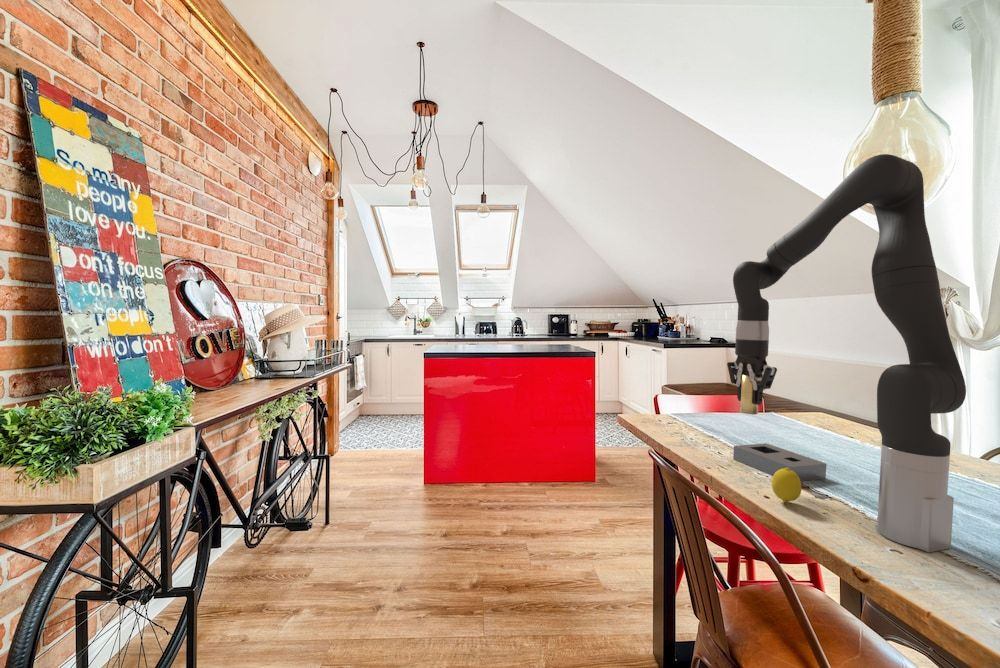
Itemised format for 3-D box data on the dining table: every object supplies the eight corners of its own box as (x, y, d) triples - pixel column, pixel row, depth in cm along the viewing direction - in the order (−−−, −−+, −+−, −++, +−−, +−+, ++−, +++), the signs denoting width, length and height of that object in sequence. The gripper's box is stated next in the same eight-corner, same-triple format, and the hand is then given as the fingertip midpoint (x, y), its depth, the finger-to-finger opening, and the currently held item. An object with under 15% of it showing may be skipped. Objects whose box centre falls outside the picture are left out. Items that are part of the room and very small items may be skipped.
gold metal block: (761, 414, 111) (763, 376, 111) (749, 414, 110) (750, 376, 109) (748, 410, 115) (750, 374, 114) (736, 411, 114) (738, 374, 113)
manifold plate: (733, 459, 125) (733, 445, 124) (765, 456, 128) (766, 443, 128) (789, 482, 107) (790, 467, 107) (825, 478, 111) (826, 463, 110)
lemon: (791, 498, 98) (792, 464, 98) (806, 509, 92) (807, 472, 92) (766, 496, 98) (767, 462, 98) (779, 507, 93) (781, 471, 93)
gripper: (788, 339, 106) (784, 407, 106) (741, 336, 119) (738, 397, 120) (764, 339, 104) (761, 409, 104) (719, 336, 117) (717, 398, 118)
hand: (749, 402), depth 112 cm, fingers closed on gold metal block, 4 cm apart
